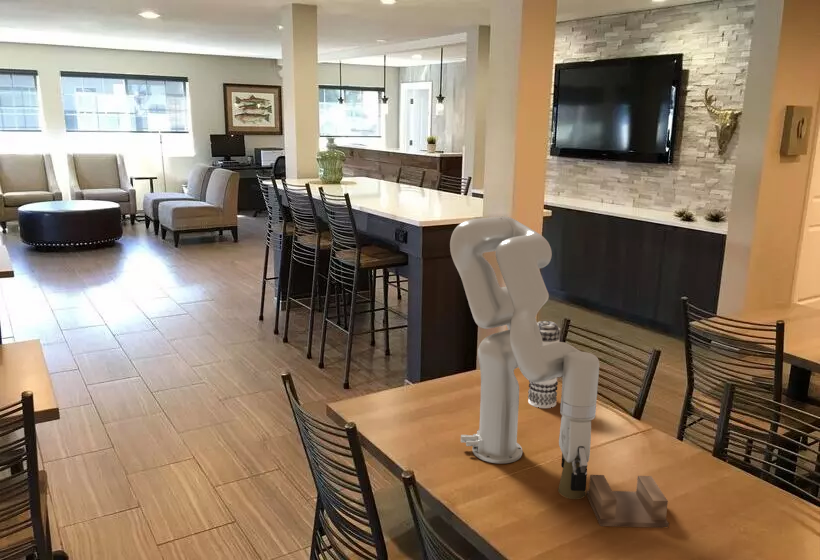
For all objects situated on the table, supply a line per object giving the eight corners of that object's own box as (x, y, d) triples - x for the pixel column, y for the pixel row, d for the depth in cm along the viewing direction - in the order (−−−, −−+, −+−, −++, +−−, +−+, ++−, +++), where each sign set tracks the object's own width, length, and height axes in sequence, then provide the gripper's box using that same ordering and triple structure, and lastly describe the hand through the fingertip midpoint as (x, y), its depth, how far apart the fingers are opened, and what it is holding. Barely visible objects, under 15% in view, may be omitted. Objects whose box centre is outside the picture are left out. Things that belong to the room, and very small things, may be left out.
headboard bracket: (600, 525, 134) (602, 502, 133) (586, 494, 146) (587, 472, 145) (668, 527, 134) (670, 503, 133) (648, 495, 146) (651, 473, 145)
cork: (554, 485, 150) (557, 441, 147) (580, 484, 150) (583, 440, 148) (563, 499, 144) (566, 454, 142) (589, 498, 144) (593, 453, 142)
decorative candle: (560, 409, 191) (566, 328, 186) (529, 408, 191) (533, 327, 186) (554, 396, 200) (559, 319, 195) (524, 396, 200) (528, 318, 195)
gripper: (553, 392, 151) (549, 459, 155) (569, 424, 134) (564, 499, 138) (585, 392, 151) (580, 460, 155) (605, 425, 134) (599, 500, 138)
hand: (572, 478), depth 146 cm, fingers open, 9 cm apart
